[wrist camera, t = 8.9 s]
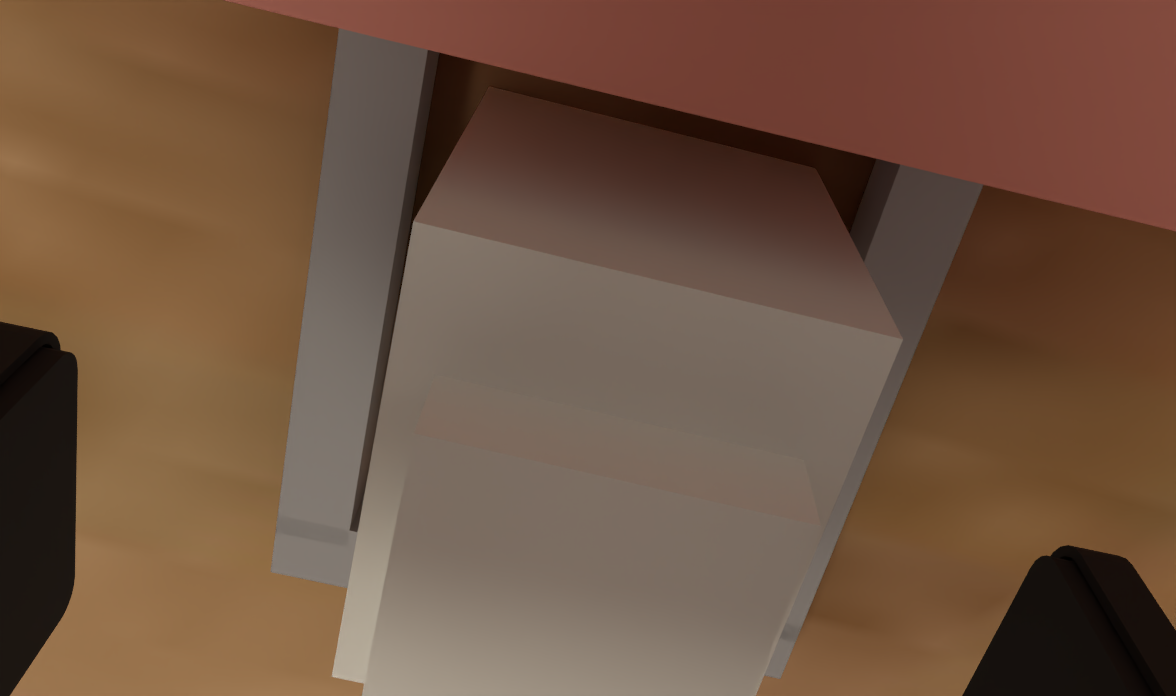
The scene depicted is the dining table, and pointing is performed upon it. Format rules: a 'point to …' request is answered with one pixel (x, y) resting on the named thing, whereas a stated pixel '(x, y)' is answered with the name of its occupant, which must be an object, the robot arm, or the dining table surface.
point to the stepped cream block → (607, 414)
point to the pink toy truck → (738, 96)
